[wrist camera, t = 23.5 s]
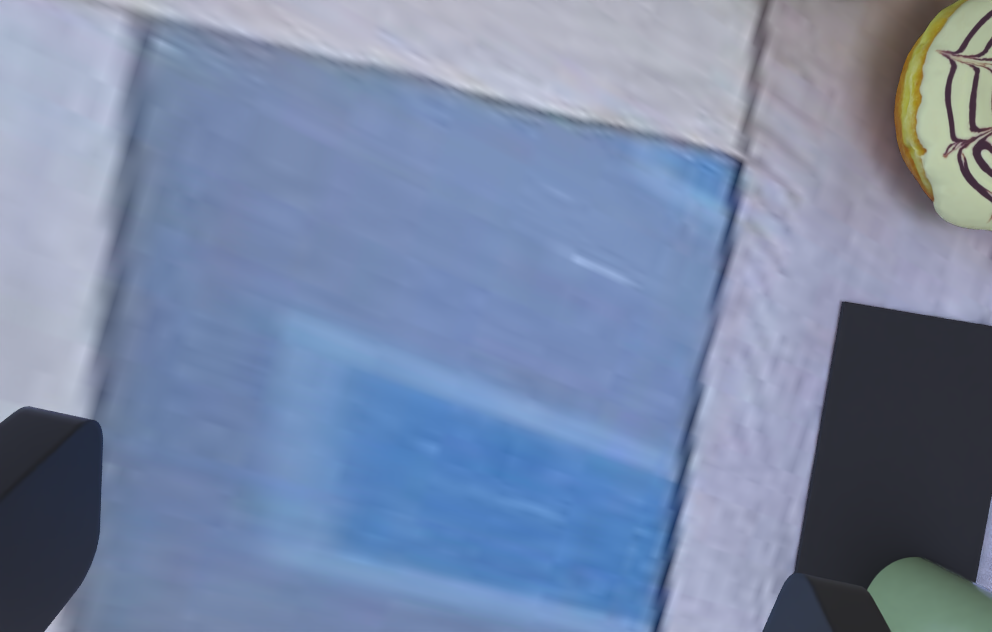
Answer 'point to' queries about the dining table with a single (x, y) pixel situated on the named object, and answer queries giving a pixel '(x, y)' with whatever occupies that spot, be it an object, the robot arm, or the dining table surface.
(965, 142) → the decorated donut
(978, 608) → the spatula crock
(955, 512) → the mat
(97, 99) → the dining table surface
